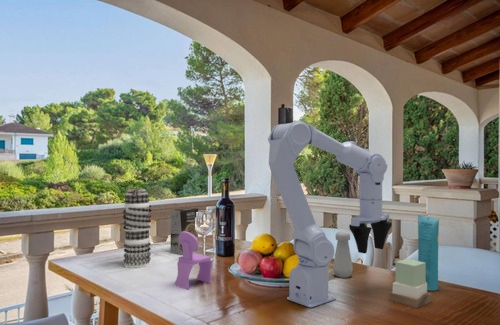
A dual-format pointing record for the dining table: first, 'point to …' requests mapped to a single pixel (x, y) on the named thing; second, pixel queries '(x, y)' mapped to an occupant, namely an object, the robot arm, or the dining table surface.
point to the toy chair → (191, 261)
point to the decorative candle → (137, 228)
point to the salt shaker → (342, 256)
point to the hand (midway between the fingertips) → (370, 250)
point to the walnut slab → (411, 300)
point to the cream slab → (410, 290)
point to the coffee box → (182, 226)
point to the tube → (429, 248)
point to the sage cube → (410, 272)
